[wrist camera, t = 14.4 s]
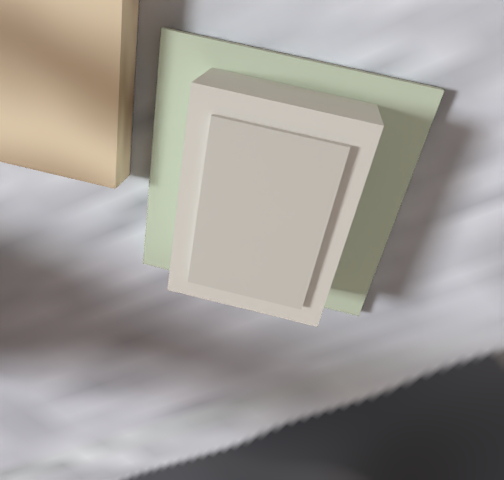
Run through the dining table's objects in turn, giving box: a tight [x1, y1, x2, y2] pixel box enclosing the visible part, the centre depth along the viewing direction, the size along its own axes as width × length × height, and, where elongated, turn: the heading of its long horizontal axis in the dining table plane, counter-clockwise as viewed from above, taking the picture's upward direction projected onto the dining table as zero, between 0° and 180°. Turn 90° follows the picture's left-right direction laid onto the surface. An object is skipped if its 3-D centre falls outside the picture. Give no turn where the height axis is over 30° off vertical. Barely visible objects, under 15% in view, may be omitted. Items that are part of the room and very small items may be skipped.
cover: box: [167, 68, 384, 327], centre depth 17 cm, size 8×6×3 cm
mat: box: [143, 27, 444, 316], centre depth 19 cm, size 10×10×1 cm
